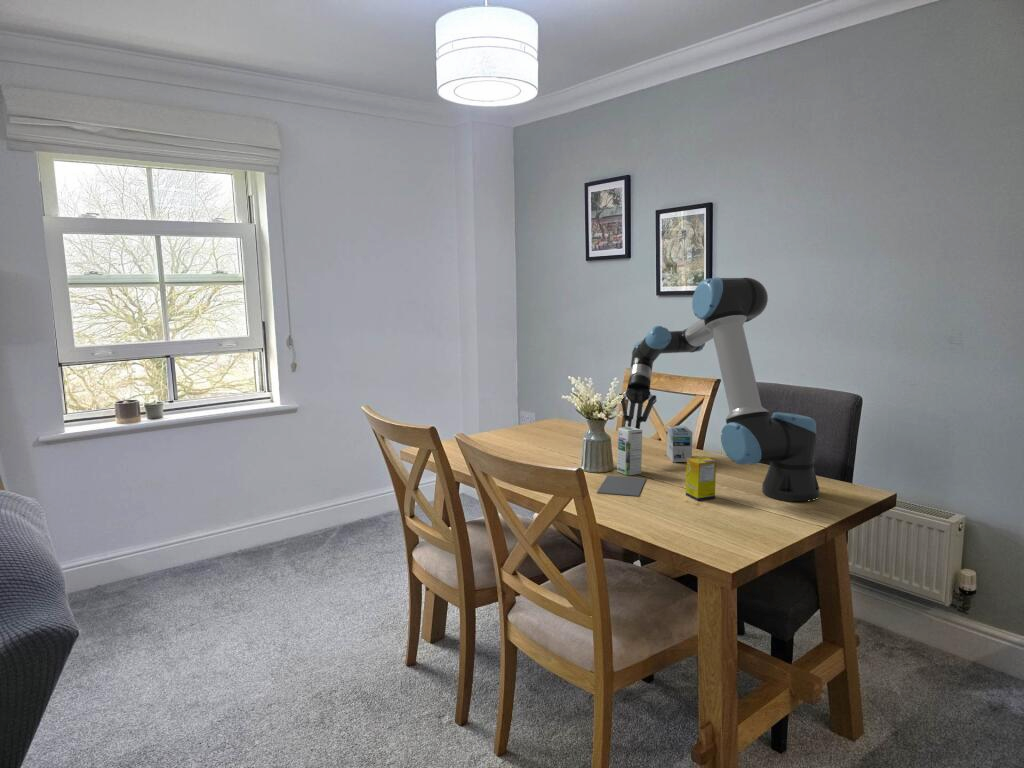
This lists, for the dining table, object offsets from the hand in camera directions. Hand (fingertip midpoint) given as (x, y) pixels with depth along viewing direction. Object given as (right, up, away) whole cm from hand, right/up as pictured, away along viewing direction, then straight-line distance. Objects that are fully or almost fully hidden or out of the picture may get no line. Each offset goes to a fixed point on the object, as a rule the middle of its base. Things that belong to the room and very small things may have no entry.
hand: (632, 437), depth 222 cm
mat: (-6, -13, -19) cm, 24 cm away
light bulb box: (+18, -9, +12) cm, 23 cm away
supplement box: (+14, -15, -30) cm, 36 cm away
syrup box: (-2, -11, -5) cm, 12 cm away
